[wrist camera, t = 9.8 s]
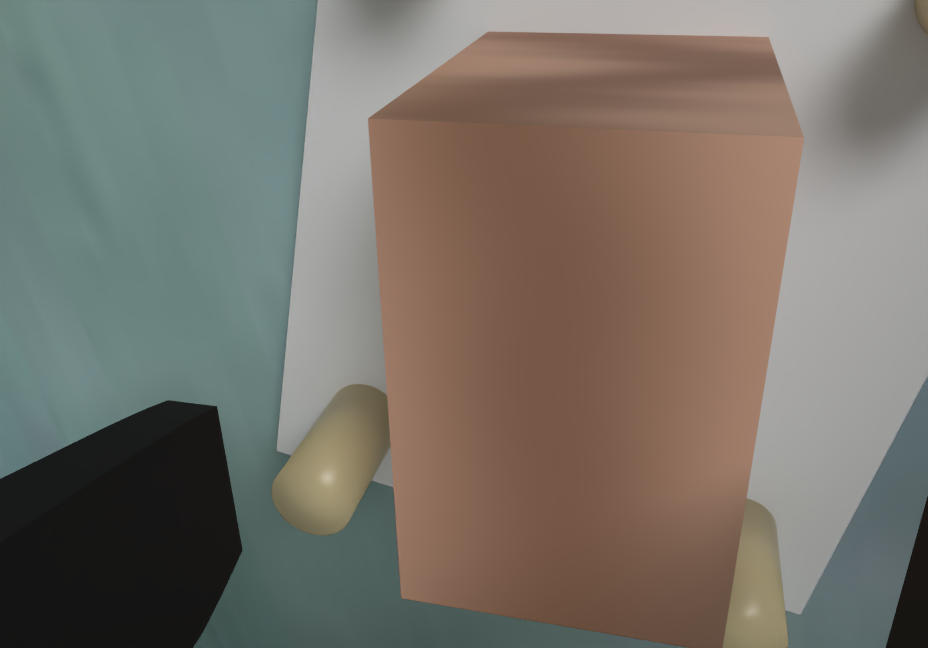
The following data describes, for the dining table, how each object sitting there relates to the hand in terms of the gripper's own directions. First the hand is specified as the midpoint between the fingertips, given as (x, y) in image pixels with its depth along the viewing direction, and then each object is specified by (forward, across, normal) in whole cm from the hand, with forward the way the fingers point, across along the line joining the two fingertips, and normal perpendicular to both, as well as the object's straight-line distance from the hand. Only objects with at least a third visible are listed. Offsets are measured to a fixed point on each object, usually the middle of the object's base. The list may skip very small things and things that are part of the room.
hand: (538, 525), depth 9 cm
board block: (+8, 0, 0) cm, 8 cm away
